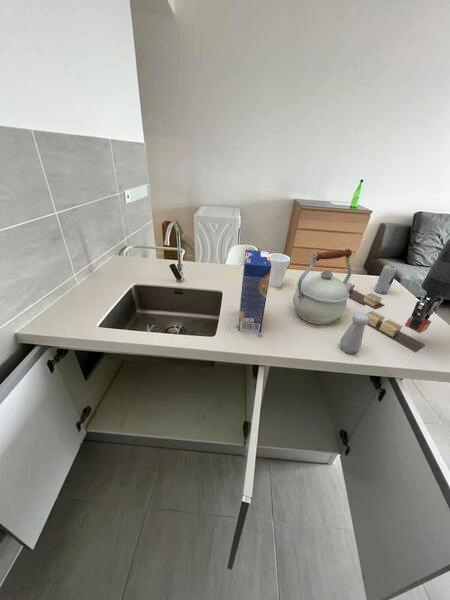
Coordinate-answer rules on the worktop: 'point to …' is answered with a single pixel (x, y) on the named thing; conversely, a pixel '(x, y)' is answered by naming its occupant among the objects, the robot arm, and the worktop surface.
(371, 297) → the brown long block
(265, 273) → the juice carton
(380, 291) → the energy drink
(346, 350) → the salt shaker
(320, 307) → the kettle
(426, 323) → the s tile
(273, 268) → the foam cup
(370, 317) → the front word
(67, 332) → the worktop surface
